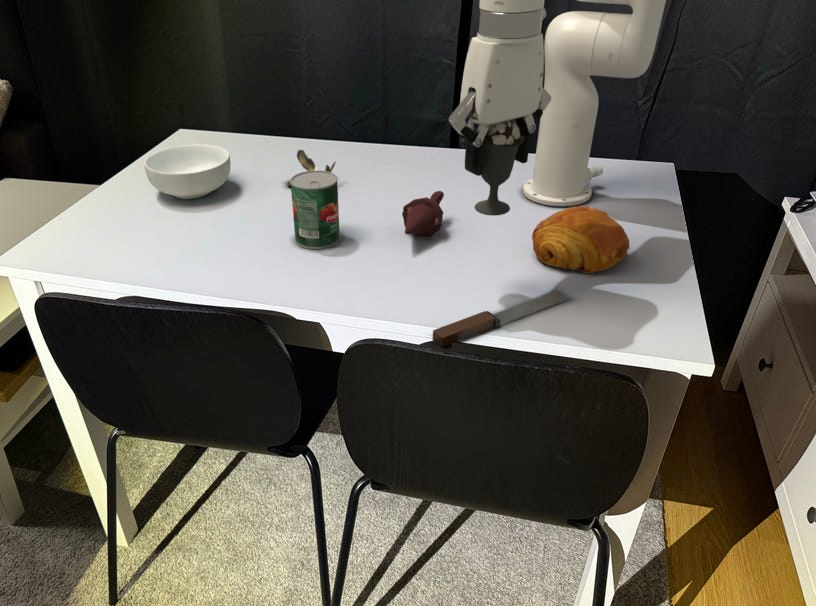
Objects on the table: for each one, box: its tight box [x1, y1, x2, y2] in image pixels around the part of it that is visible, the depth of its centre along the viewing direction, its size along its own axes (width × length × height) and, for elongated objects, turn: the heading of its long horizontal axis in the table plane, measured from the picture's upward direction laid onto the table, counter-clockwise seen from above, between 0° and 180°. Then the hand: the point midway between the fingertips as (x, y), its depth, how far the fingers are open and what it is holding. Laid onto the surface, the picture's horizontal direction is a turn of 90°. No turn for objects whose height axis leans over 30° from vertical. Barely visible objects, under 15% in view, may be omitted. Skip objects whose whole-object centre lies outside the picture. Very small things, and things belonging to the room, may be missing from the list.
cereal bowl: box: [143, 143, 231, 200], centre depth 141 cm, size 17×17×7 cm
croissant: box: [531, 205, 630, 274], centre depth 114 cm, size 14×16×8 cm
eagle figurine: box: [286, 149, 336, 187], centre depth 142 cm, size 8×7×9 cm
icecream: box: [401, 190, 445, 239], centre depth 122 cm, size 7×7×15 cm
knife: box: [432, 290, 569, 348], centre depth 101 cm, size 23×3×2 cm, turn 120°
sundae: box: [473, 119, 525, 217], centre depth 96 cm, size 7×7×15 cm
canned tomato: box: [289, 169, 341, 250], centre depth 121 cm, size 8×8×11 cm
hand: (496, 165), depth 96 cm, fingers closed on sundae, 6 cm apart
